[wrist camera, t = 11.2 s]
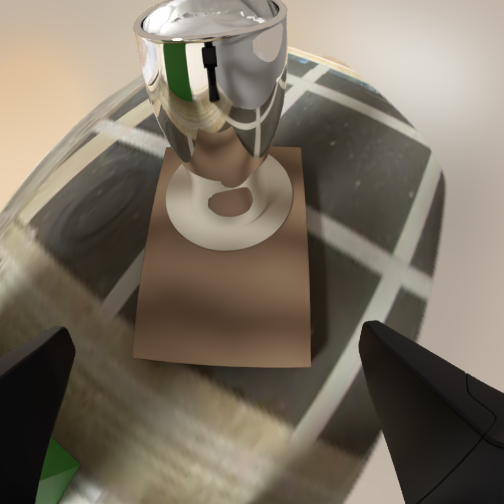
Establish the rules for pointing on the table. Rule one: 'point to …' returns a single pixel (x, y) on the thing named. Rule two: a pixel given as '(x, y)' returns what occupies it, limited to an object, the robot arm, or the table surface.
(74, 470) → the hardback book
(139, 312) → the walnut base
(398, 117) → the table surface
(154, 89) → the metal tumbler
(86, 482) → the table surface
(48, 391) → the robot arm
